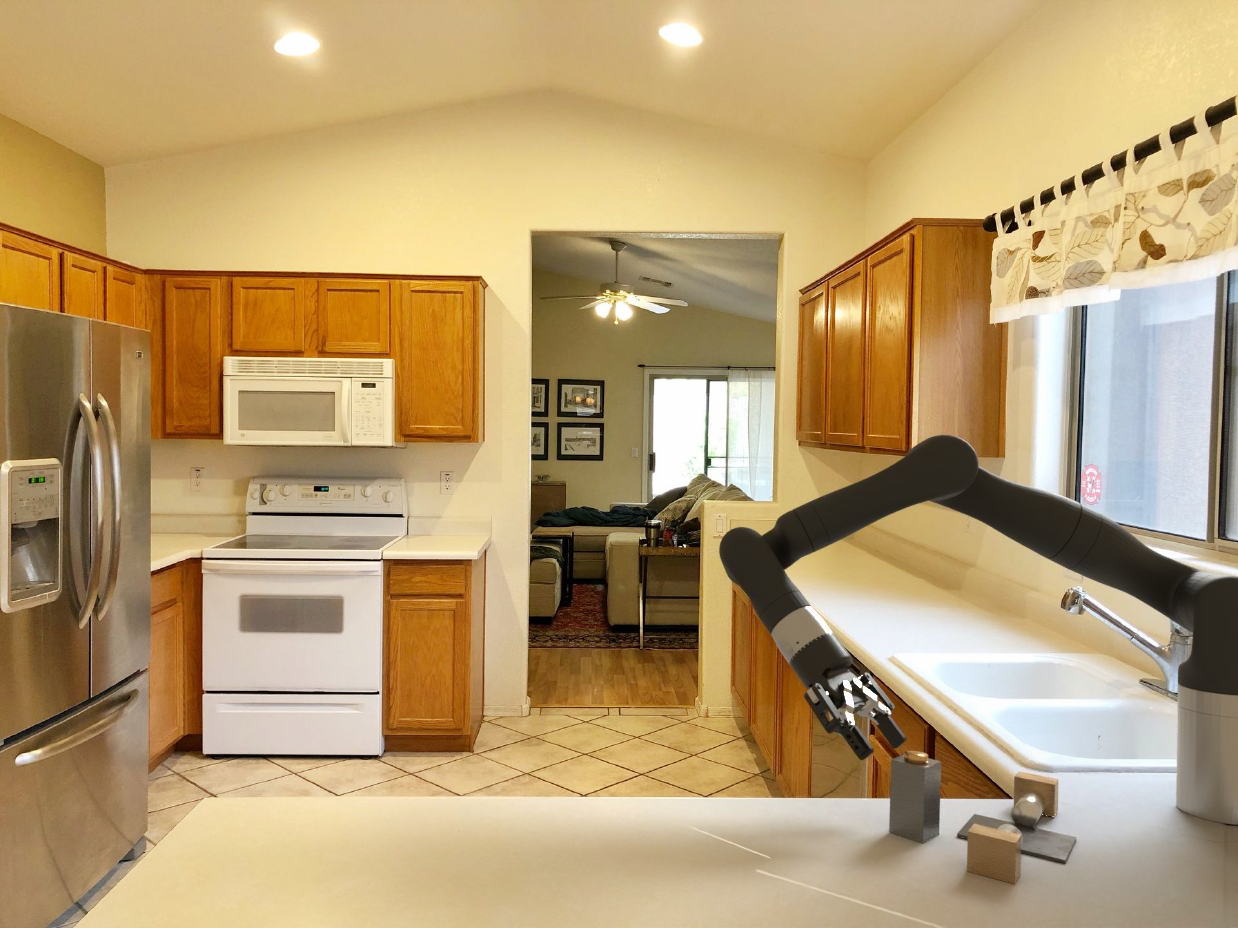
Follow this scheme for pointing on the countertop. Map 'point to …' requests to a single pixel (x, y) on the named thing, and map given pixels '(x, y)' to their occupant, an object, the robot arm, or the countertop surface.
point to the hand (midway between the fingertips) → (885, 750)
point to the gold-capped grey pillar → (915, 796)
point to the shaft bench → (1016, 832)
